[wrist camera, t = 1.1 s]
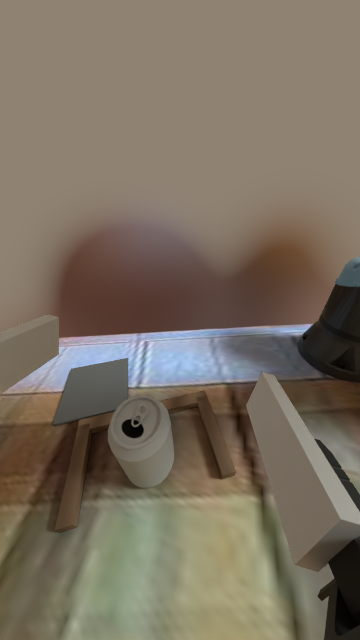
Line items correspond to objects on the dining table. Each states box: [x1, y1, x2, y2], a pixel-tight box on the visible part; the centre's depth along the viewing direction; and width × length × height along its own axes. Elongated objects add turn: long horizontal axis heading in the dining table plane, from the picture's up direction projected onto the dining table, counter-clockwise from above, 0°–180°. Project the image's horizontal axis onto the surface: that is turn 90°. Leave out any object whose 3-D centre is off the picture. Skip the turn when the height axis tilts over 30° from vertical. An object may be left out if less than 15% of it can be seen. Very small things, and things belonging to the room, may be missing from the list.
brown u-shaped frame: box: [54, 391, 236, 533], centre depth 29 cm, size 23×13×2 cm, turn 103°
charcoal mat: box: [53, 358, 128, 426], centre depth 39 cm, size 13×13×1 cm
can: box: [108, 395, 174, 488], centre depth 24 cm, size 8×8×12 cm
